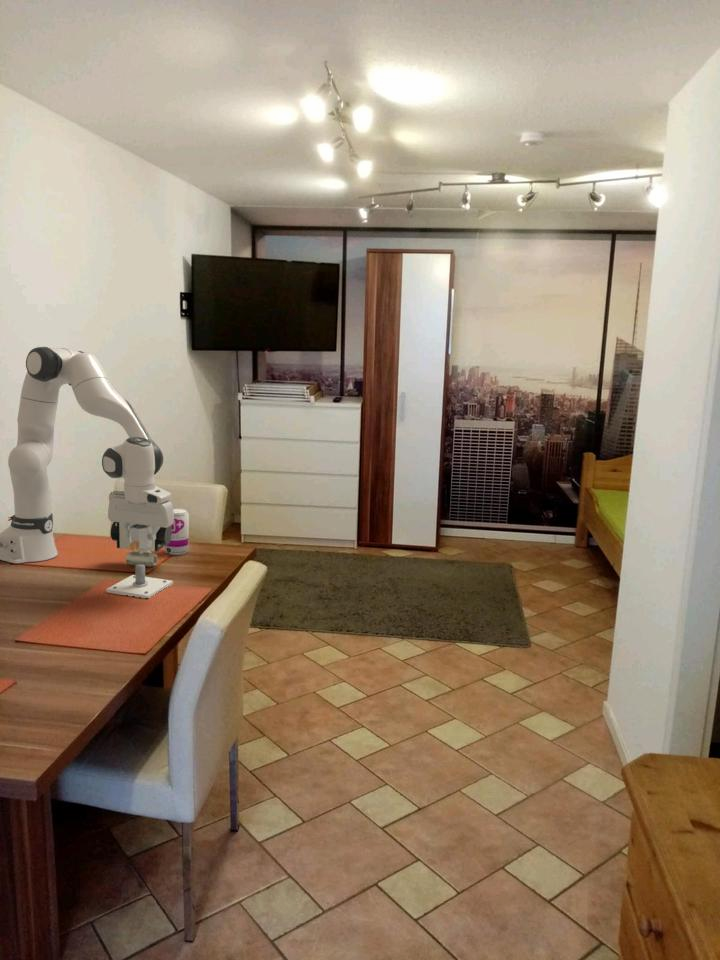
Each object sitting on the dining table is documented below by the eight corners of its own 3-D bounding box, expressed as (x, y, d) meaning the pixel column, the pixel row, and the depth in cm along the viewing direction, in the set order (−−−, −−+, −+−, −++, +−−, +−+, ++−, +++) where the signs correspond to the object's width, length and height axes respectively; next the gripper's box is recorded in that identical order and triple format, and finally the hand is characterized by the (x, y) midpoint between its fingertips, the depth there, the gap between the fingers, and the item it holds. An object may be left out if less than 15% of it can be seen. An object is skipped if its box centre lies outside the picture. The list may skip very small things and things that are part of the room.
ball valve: (173, 563, 244) (173, 511, 240) (164, 571, 235) (164, 518, 232) (121, 559, 245) (120, 507, 242) (110, 566, 237) (109, 514, 233)
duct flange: (106, 592, 215) (105, 569, 213) (132, 577, 228) (132, 556, 227) (148, 599, 211) (148, 576, 210) (173, 583, 225) (173, 562, 223)
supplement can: (185, 556, 252) (185, 514, 249) (161, 555, 252) (161, 513, 249) (191, 549, 260) (191, 508, 257) (168, 548, 260) (168, 507, 257)
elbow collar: (137, 541, 221) (137, 522, 219) (155, 543, 219) (154, 524, 218) (122, 548, 213) (122, 529, 212) (141, 551, 212) (140, 531, 210)
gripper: (102, 492, 214) (104, 537, 216) (165, 498, 208) (166, 545, 211) (115, 487, 219) (116, 532, 222) (176, 494, 214) (176, 539, 217)
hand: (141, 538), depth 217 cm, fingers closed on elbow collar, 6 cm apart
